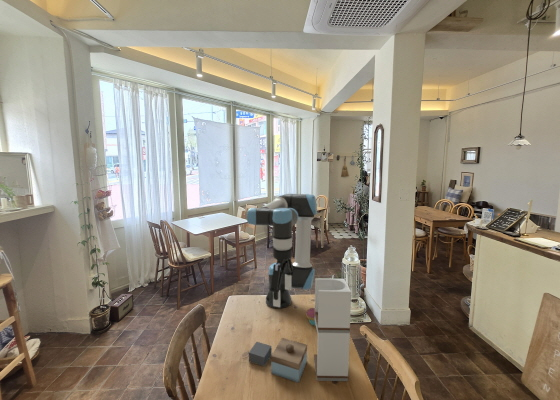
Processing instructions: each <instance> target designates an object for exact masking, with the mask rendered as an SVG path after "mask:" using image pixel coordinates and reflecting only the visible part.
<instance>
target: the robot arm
mask: <svg viewBox="0 0 560 400" xmlns="http://www.w3.org/2000/svg"><path fill="white" fill-rule="evenodd" d="M317 214H318V204H317V199H316V196H315V195H314V194H309V193H286V194H283V195H279V196H276V197H274V199H272V201H270V202H269V203H267V204H265V205H263V206H260V207H250V208H249V209H248V210H247V211H246V222H247V224H248V225H253V226H267V227H268V226H269V227H272V241H273V242H272V246H273V249H272V250H273V251H272V255H273V258H274V259H276V262H273V263H272V264H270V265H269V267H268V274H267V275H268V291H267V294H266V297H265V304H266V305H267V306H268V307H270V308H273V309H284V308H285V309H286V308H288V307H289V306H290V305H291V304H292V297H291V296H292V295H291V293H290V291H292V289H301V290H311V289H312V287H313V284H314V281H315V271H316V269H315V268H313V264H312V263H311V238H312V221H313V219H315V216H316V215H317ZM295 225H296V226H295ZM293 226H295V227H296V228H295V246H294V247H295V249H294V262H293V260H292V257H293V248H292V247H293Z"/></svg>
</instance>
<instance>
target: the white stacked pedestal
mask: <svg viewBox="0 0 560 400" xmlns="http://www.w3.org/2000/svg"><path fill="white" fill-rule="evenodd" d="M314 282H315V284H314V288H315V289H314V308H315V323H316V325H315V329H316V334H317V345H316V346H317V350H316V353H317V354H313V364H314V369H315V375H316V381H318V382H319V381H323V382H324V381H325V382H349V366H350V365H349V362H350V335H351V311H352V310H351V309H352V308H351V307H352V290H351V289H350V287H349V285H348V283H347V281H346V279H345V278H330V277H329V278H324V277H323V278H321V277H320V278H318V277H317V278H315V277H314Z"/></svg>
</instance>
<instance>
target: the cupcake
mask: <svg viewBox="0 0 560 400" xmlns="http://www.w3.org/2000/svg"><path fill="white" fill-rule="evenodd" d="M305 313H306V314H305V315H306V319H308V321H309V324H311V325H312V326H316V323H315V307H312V308H309V309H308V310H307V311H306V312H305Z"/></svg>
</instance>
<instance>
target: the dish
mask: <svg viewBox="0 0 560 400" xmlns="http://www.w3.org/2000/svg"><path fill="white" fill-rule="evenodd" d="M307 360H308V351H307V352H306V354H305V356H304V359H303V361H302V364H301V366H300V369H299V370H297V369H293V368H290V367H287V366H284V365H281V364H278V363H275V362H270V363H271V364H270V365H271V366H270V367H271V369H270V372H271V374H272V375H275V376H278V377H280V378H283V379H287V380H289V381H293V382H295V383H297V384H299V382H300V381H301V377H302V375H303V373H304V370H305V368H306V365H307V363H308V361H307Z"/></svg>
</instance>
